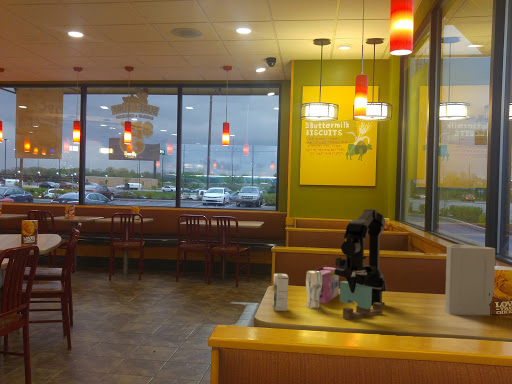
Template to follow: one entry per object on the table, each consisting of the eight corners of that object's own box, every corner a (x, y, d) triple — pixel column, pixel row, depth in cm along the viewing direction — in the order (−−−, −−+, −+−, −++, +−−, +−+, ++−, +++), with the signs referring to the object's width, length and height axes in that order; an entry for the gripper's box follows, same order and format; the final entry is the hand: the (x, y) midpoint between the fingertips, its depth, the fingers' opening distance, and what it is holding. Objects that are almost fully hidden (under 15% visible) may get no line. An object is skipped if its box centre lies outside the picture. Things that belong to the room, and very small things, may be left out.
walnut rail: (376, 311, 187) (376, 302, 187) (382, 313, 185) (382, 303, 185) (342, 318, 176) (343, 307, 176) (348, 320, 173) (348, 309, 173)
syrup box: (271, 307, 189) (272, 273, 189) (285, 307, 189) (286, 273, 190) (273, 311, 183) (274, 275, 183) (287, 311, 184) (288, 275, 184)
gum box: (325, 304, 197) (326, 273, 198) (308, 302, 201) (309, 272, 201) (338, 294, 219) (339, 266, 219) (323, 292, 223) (324, 265, 223)
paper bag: (475, 306, 203) (477, 244, 203) (494, 315, 188) (496, 248, 188) (434, 305, 202) (435, 243, 202) (449, 314, 187) (451, 247, 187)
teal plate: (339, 301, 182) (340, 281, 182) (344, 300, 184) (345, 280, 184) (366, 309, 171) (366, 288, 171) (371, 308, 173) (371, 287, 173)
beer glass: (320, 309, 189) (321, 273, 189) (304, 307, 190) (305, 272, 190) (321, 305, 196) (322, 271, 196) (305, 303, 197) (306, 269, 197)
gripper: (357, 249, 190) (356, 286, 190) (325, 251, 179) (324, 290, 179) (378, 252, 180) (377, 291, 180) (345, 255, 170) (344, 296, 170)
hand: (355, 292), depth 178 cm, fingers closed on teal plate, 3 cm apart
